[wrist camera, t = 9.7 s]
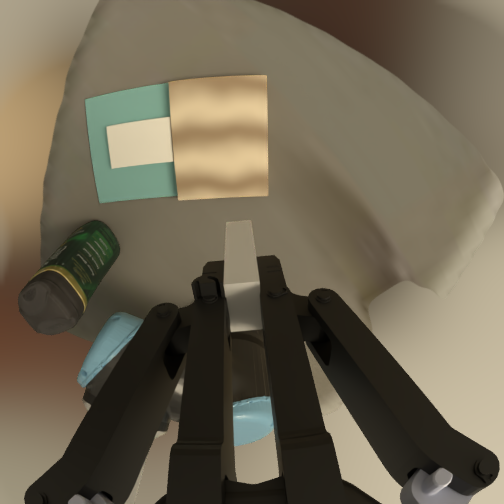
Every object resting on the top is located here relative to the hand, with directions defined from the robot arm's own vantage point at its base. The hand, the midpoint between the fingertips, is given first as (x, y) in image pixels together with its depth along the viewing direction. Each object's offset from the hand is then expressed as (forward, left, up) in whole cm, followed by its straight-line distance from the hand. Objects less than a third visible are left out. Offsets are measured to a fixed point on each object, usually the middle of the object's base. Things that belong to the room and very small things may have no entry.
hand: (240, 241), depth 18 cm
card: (+4, +13, -23) cm, 27 cm away
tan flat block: (+4, +2, -24) cm, 24 cm away
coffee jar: (-11, +24, -24) cm, 36 cm away
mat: (+4, +15, -24) cm, 28 cm away
